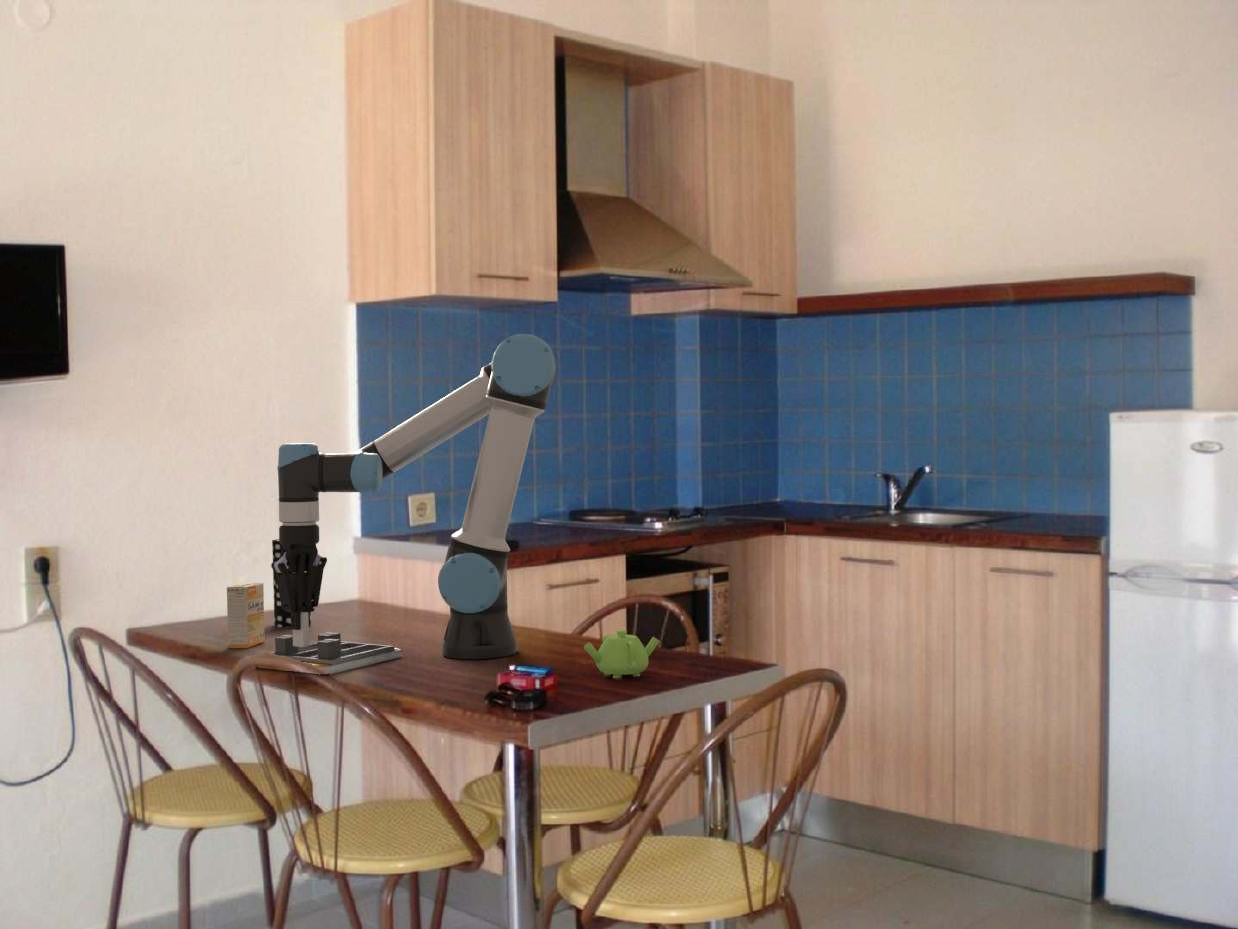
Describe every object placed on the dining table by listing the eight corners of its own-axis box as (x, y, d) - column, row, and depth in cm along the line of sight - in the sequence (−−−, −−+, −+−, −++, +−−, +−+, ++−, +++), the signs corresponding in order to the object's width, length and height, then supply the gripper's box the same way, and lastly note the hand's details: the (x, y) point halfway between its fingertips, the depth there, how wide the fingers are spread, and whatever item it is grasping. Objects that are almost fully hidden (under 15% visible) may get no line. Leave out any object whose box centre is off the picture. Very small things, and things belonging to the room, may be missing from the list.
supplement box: (248, 649, 290) (246, 586, 290) (227, 648, 291) (225, 586, 291) (266, 642, 298) (264, 582, 298) (245, 642, 299) (243, 581, 299)
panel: (401, 657, 277) (401, 644, 277) (325, 675, 258) (324, 662, 258) (334, 650, 286) (333, 638, 286) (255, 668, 267) (255, 655, 267)
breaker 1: (298, 656, 270) (298, 634, 270) (285, 659, 267) (284, 637, 267) (289, 655, 272) (288, 634, 272) (275, 658, 269) (275, 636, 268)
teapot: (640, 684, 245) (639, 636, 244) (580, 680, 249) (579, 633, 249) (661, 672, 255) (661, 627, 255) (604, 669, 259) (603, 624, 259)
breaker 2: (341, 660, 265) (340, 638, 265) (328, 663, 262) (327, 641, 262) (330, 659, 266) (330, 637, 266) (317, 662, 263) (317, 640, 263)
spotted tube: (318, 623, 324) (316, 538, 324) (292, 628, 317) (290, 541, 317) (293, 621, 329) (290, 537, 328) (266, 626, 322) (264, 540, 321)
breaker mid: (340, 653, 273) (340, 632, 273) (328, 656, 270) (327, 634, 269) (331, 652, 274) (330, 631, 274) (318, 655, 271) (317, 634, 271)
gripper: (308, 520, 272) (310, 639, 273) (259, 525, 261) (261, 649, 262) (337, 521, 268) (338, 642, 269) (289, 526, 257) (290, 652, 258)
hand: (300, 646), depth 265 cm, fingers closed
